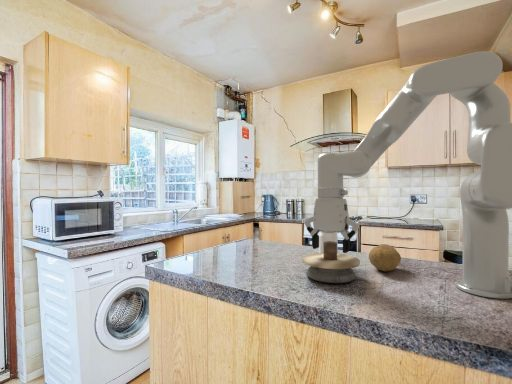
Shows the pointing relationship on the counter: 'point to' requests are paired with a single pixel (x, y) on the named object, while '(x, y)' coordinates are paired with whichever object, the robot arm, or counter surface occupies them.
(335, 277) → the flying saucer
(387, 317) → the counter surface
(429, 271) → the counter surface
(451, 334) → the counter surface
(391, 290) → the counter surface
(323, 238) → the can
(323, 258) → the lid
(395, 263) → the potato
